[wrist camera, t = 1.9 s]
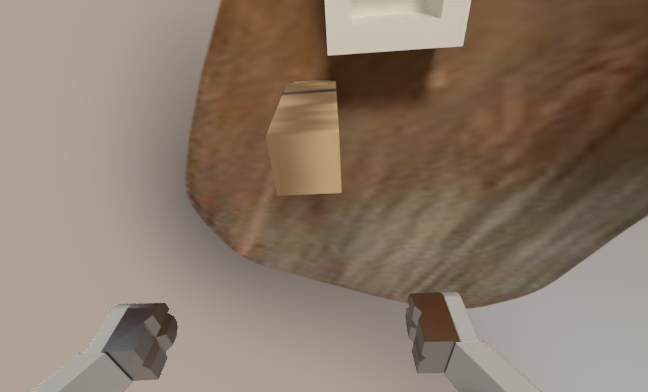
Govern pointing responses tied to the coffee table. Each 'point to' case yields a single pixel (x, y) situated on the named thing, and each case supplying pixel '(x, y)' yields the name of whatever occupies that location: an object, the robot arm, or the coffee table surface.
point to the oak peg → (306, 140)
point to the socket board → (394, 25)
